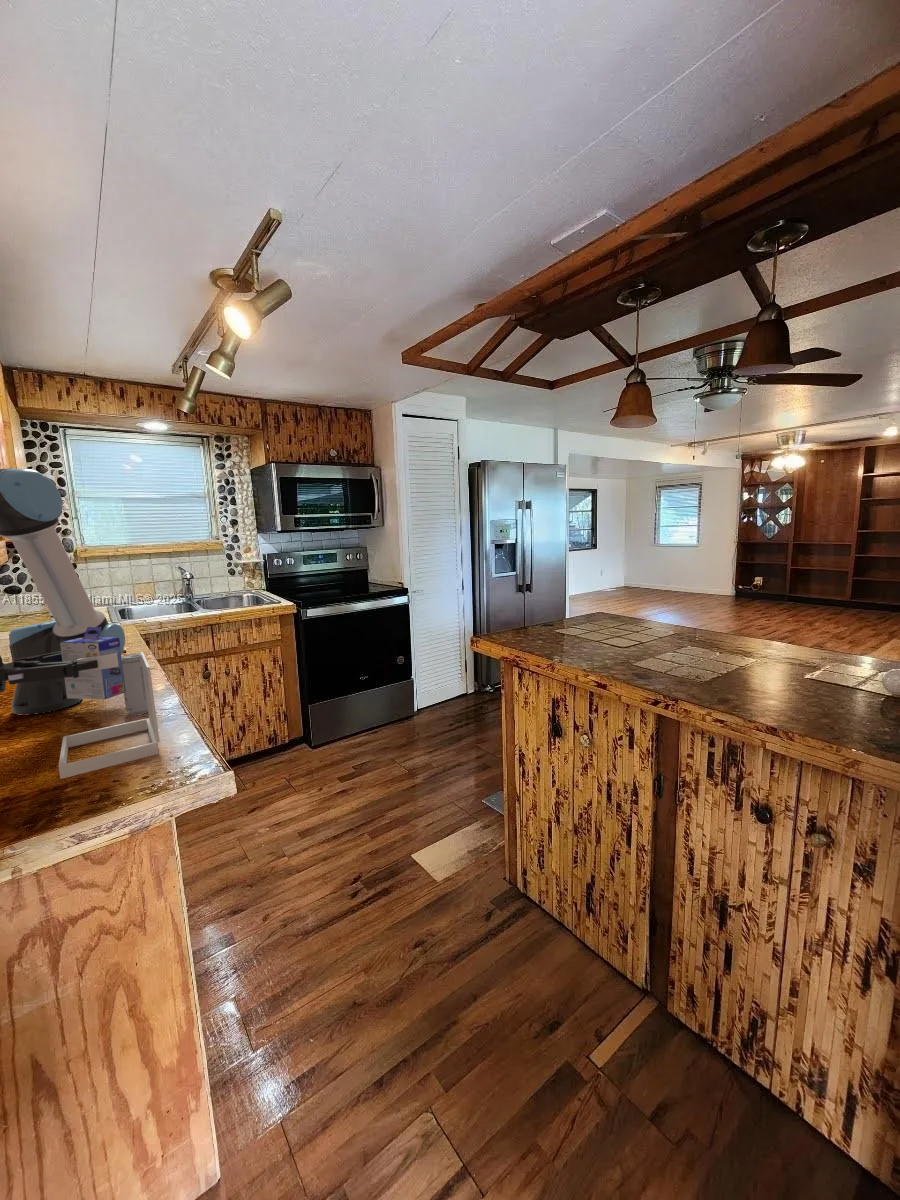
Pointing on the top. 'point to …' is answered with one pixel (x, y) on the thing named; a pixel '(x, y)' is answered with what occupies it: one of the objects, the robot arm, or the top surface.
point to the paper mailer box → (111, 732)
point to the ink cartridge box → (97, 681)
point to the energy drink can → (134, 685)
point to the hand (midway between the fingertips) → (116, 655)
